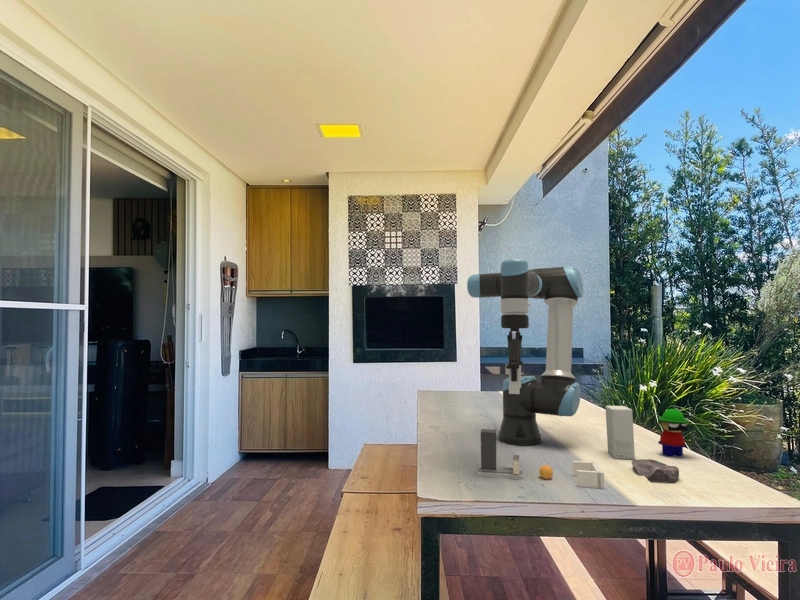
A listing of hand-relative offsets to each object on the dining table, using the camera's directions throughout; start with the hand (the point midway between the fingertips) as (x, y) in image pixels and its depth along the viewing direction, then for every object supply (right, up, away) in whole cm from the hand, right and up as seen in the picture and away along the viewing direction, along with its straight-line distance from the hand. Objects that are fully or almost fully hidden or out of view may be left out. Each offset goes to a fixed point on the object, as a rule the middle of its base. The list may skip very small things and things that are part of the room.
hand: (515, 390), depth 126 cm
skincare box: (+39, -25, +20) cm, 51 cm away
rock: (+38, -24, -1) cm, 45 cm away
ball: (+7, -21, -5) cm, 22 cm away
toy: (+57, -25, +20) cm, 65 cm away
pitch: (+4, -24, -5) cm, 24 cm away
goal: (+17, -22, -8) cm, 29 cm away
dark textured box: (-5, -22, -3) cm, 23 cm away
